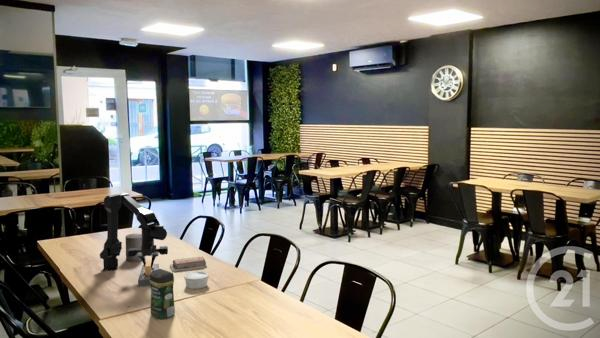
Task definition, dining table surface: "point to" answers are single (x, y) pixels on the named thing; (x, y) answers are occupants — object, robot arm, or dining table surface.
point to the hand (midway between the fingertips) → (148, 267)
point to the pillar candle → (133, 246)
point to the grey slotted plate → (146, 276)
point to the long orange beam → (148, 267)
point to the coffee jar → (162, 294)
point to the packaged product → (188, 264)
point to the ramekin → (196, 280)
